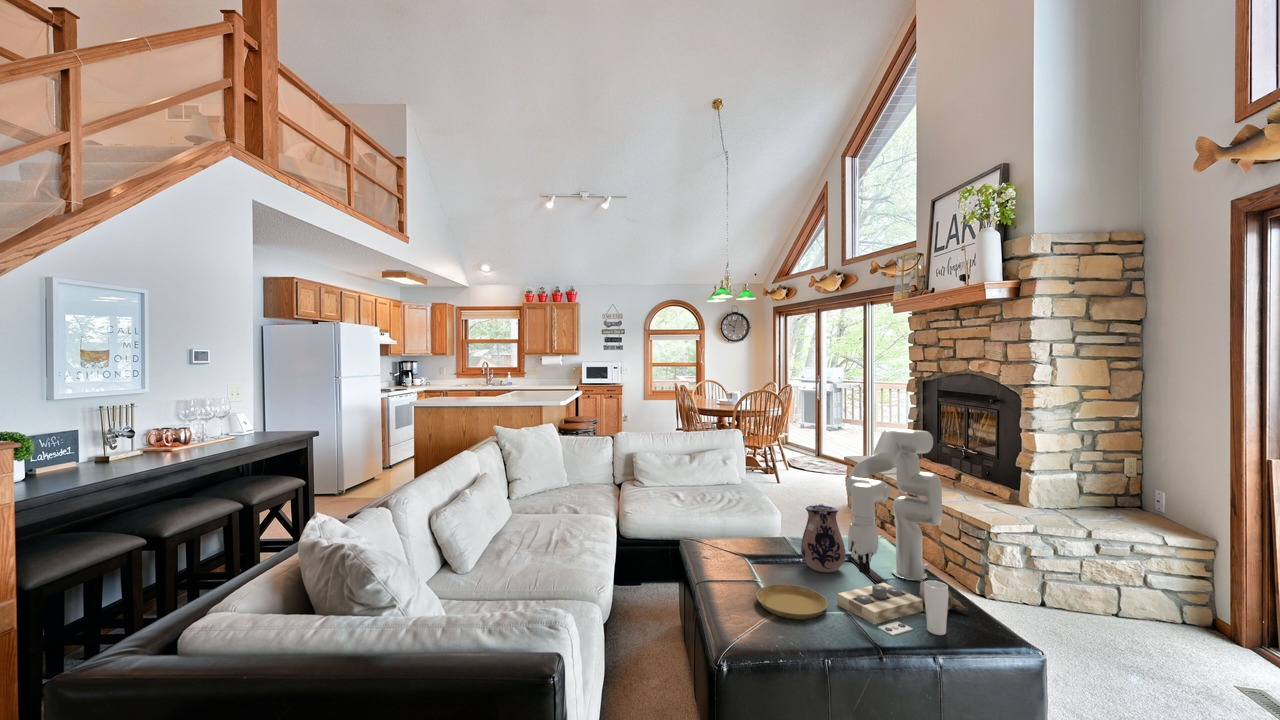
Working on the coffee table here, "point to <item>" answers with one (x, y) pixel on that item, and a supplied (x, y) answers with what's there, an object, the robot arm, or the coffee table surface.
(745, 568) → the coffee table surface
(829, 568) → the ceramic pitcher
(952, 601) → the ceramic sculpture
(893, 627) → the pattern card
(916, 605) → the button board
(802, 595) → the plant saucer
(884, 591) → the middle button
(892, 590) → the button
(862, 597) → the button
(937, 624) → the drinking glass
